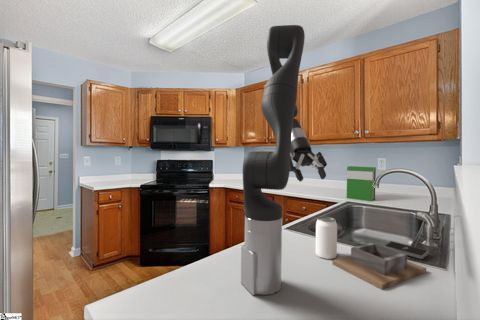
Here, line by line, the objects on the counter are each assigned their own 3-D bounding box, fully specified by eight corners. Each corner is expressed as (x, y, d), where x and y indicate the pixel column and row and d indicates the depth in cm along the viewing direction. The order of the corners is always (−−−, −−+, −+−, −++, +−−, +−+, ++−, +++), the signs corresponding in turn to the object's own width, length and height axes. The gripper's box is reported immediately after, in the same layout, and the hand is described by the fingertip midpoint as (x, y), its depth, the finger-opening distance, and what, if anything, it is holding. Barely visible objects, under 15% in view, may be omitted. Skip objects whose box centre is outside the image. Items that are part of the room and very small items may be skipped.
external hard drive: (421, 262, 75) (422, 256, 75) (382, 251, 84) (383, 245, 84) (428, 256, 80) (428, 250, 79) (390, 246, 88) (390, 241, 88)
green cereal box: (375, 200, 178) (375, 167, 177) (372, 201, 172) (372, 167, 172) (349, 196, 190) (350, 166, 189) (346, 198, 184) (347, 166, 184)
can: (319, 250, 83) (320, 215, 83) (339, 255, 79) (340, 218, 79) (312, 256, 78) (312, 219, 78) (332, 261, 74) (333, 222, 74)
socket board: (381, 289, 59) (382, 269, 59) (332, 264, 72) (333, 247, 72) (426, 272, 68) (426, 254, 68) (375, 252, 82) (375, 237, 81)
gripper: (283, 137, 87) (297, 175, 79) (318, 135, 91) (336, 171, 82) (277, 149, 94) (290, 186, 85) (310, 147, 97) (326, 182, 88)
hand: (312, 179), depth 83 cm, fingers open, 8 cm apart
